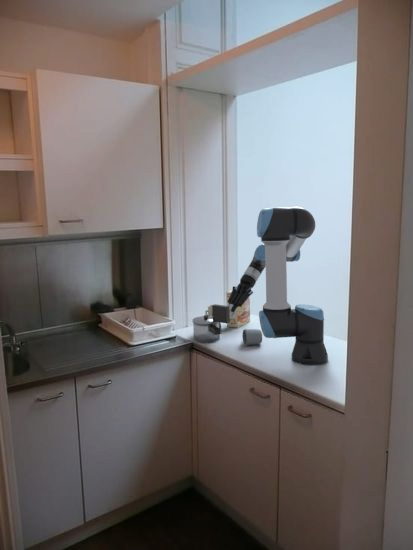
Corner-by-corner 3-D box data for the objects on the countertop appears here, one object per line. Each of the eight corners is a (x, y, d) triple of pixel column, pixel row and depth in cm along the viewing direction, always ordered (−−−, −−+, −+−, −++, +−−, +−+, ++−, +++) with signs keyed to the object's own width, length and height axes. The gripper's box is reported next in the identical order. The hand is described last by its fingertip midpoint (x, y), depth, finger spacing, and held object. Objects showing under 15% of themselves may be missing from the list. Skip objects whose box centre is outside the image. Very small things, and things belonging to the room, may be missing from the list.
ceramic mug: (263, 345, 214) (262, 330, 212) (246, 347, 212) (246, 331, 211) (256, 339, 224) (255, 324, 223) (240, 341, 222) (239, 326, 221)
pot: (231, 344, 217) (231, 326, 215) (207, 349, 212) (206, 330, 210) (209, 331, 239) (209, 315, 238) (186, 335, 234) (186, 318, 233)
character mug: (208, 332, 238) (207, 308, 236) (203, 329, 245) (202, 305, 242) (227, 329, 242) (226, 306, 240) (221, 326, 249) (221, 303, 247)
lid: (186, 322, 224) (186, 305, 223) (203, 316, 235) (202, 299, 234) (220, 328, 212) (219, 309, 211) (236, 321, 223) (235, 303, 222)
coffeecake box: (238, 328, 244) (237, 292, 241) (226, 326, 248) (225, 291, 245) (250, 321, 257) (250, 287, 254) (239, 320, 261) (238, 286, 257)
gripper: (263, 283, 225) (240, 323, 218) (244, 280, 236) (221, 318, 228) (255, 274, 221) (231, 314, 214) (236, 272, 231) (213, 310, 224)
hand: (226, 316), depth 221 cm, fingers closed
